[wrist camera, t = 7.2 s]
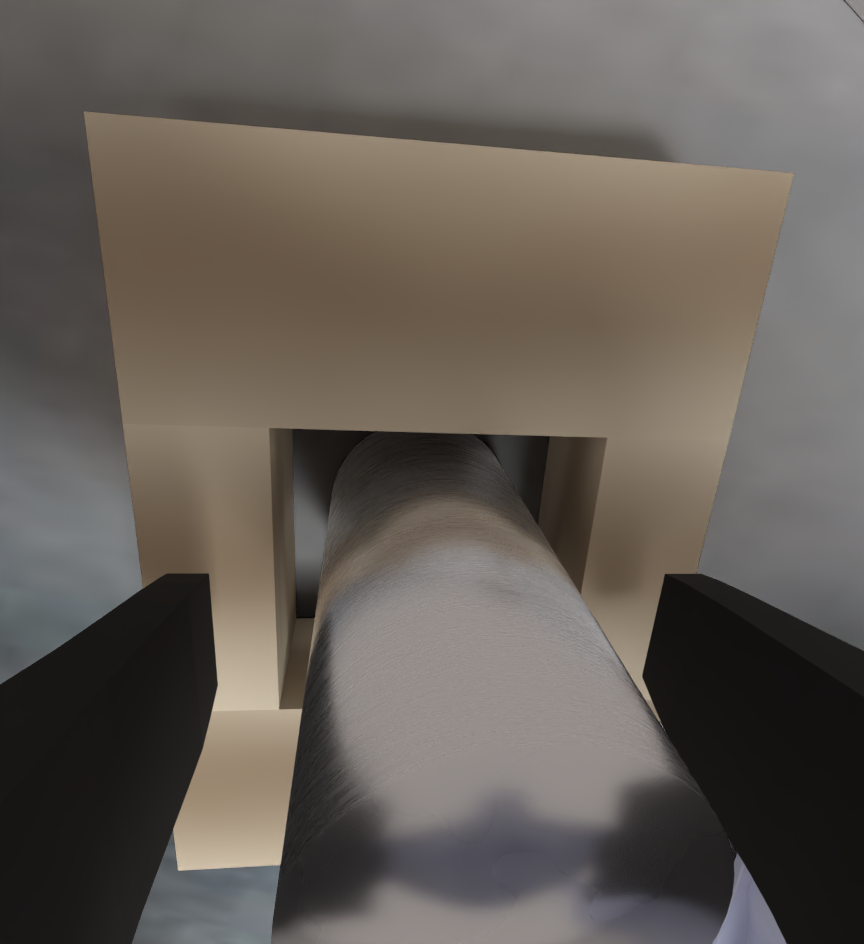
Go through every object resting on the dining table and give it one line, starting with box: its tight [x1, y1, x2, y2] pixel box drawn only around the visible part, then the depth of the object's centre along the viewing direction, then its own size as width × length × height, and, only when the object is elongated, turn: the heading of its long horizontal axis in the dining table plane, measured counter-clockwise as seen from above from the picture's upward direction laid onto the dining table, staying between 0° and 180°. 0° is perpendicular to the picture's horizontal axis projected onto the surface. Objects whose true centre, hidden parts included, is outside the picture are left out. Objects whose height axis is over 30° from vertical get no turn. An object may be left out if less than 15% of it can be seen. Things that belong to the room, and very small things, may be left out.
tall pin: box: [271, 431, 735, 944], centre depth 9 cm, size 4×4×9 cm
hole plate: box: [84, 111, 794, 871], centre depth 12 cm, size 14×10×3 cm
